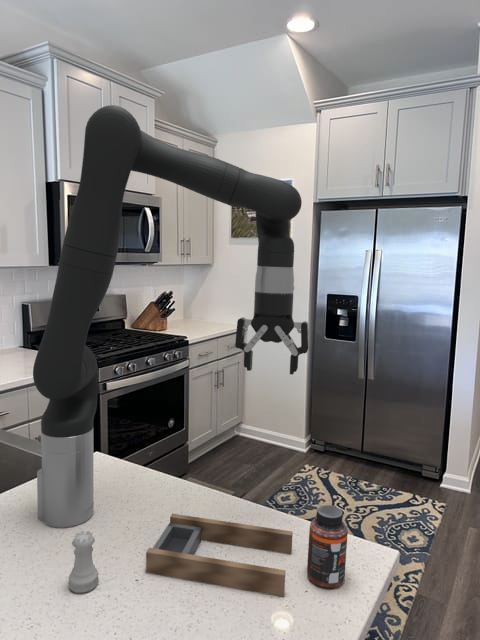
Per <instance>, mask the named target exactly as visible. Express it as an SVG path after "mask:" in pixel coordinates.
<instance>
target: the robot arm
mask: <svg viewBox="0 0 480 640" xmlns="http://www.w3.org/2000/svg"><path fill="white" fill-rule="evenodd" d="M84 131H85V132H84V143H83V145H84V146H83V153H82V154H83V155H82V162H81V163H82V165H81V173H80V179H79V183H78V189H77V193H76V196H75V199H74V203H73V205H72V209H71V212H70V215H69V220H68V223H67V226H66V230H65V234H64V238H63V242H62V243H63V244H62V247H61V251H60V256H59V257H60V258H59V261H58V267H57V273H56V279H55V284H54V287H53V288H54V289H53V293H52V299H51V303H50V310H49V313H48V319H47V322H46V326H45V330H44V332H43V336H42V338H41V342H40V344H39V348H38V350H37V353H36V356H35V360H34V363H33V367H32V378H33V379H32V380H33V383H34V385H35V387H36V389H37V391H38V392H39V394H41V395H42V396H43V397H44V398H46V399H48V401H49V402H48V404H47V407H46V409H45V411H44V412H43V414H42V416H41V421H40V430H41V432H40V433H41V436H40V437H41V468H39V469H38V470H37V472H36V483H37V484H36V489H37V520H41V521H43V523H44V524H45V525H47V526H49V527H52V528H53V527H54V528H70V527H75V526H77V525H81V524H83V523H85V522H87V521H88V520H89V519H91V517H92V516H93V515H94V503H95V502H94V419H95V415H96V412H97V407H98V391H99V389H98V387H99V367H98V366H99V365H98V361H97V358H96V356H95V354H94V352H93V351H92V349H91V348H90V347H88V346H87V344H86V343H87V338H88V333H89V329H90V327H91V324H92V322H93V319H94V317H95V315H96V313H97V312H98V310H99V308H100V306H101V304H102V302H103V301H104V298H105V296H106V294H107V291H108V289H109V287H110V284H111V281H112V278H113V274H114V271H115V266H116V260H117V256H118V252H119V245H120V238H121V228H122V211H123V202H124V197H125V191H126V188H127V185H128V182H129V177H130V175H131V172H136V173H140V174H143V175H145V174H146V175H148V176H152V177H156V178H159V179H162V180H164V181H167V182H169V183H172V184H175V185H178V186H180V187H182V188H185V189H188V190H190V191H193V192H195V193H197V194H199V195H202V196H204V197H206V198H209V199H211V200H214V201H217V202H220V203H222V204H225V205H228V206H229V207H234V208H243V209H244V208H245V209H248V210H250V211H253V212H255V223H256V232H257V233H256V234H257V239H258V246H257V257H256V258H257V259H256V260H257V264H256V266H257V267H256V272H255V281H254V301H253V302H254V307H253V318H251V319H249V318H248V319H247V318H246V317H240V318H238V319H237V321H236V331H235V344H234V345H235V348H236V349H239V350H242V351H243V366H244V368H246V371H247V372H249V371H252V369H253V356H254V355H253V353H254V351H253V350H252V349H253V348H254V347H255V346H256V344H257V343H258V342H259V341H260V340H261V341H263V343H269V342H272V343H277V344H279V343H281V342H283V344H284V345H285V347H286V348H287V349H288V351H289V352H290V354H291V355H290V361H289V375H294V373H295V372H297V370H298V369H299V368H298V367H299V356H300V355H303V354H307V353H308V351H309V322H307V321H306V320H305V321H304V320H303V321H301V322H300V321H298V322H297V321H294V319H293V311H294V308H293V307H294V291H295V274H294V273H295V272H294V261H295V259H294V258H295V243H294V241H293V239H292V237H290V221H291V220H293V218H295V217H297V215H298V214H299V213H300V211H301V209H302V203H303V202H302V197H301V196H302V195H300V194H301V193H300V192H299V191H298V190H297V188H296V187H294V186H293V185H291V184H290V183H288V182H286V181H284V180H281V179H278V178H274V177H271V176H266V175H262V174H259V173H253V172H250V171H248V170H245V169H244V168H242V167H239V166H236V165H235V164H232V163H229V162H226V161H224V160H222V159H219V158H216V157H214V156H210V155H206V154H203V153H199V152H195V151H191V150H187V149H183V148H181V147H180V148H179V147H176V146H173V145H172V144H168V143H166V142H164V141H161V140H159V139H157V138H155V137H153V136H152V135H149V133H146V132H145V131H143V130H141V126H140V125H139V123H138V121H137V119H136V118H135V117H134V116H133V114H132V113H130V112H129V110H127V109H126V108H124V107H122V106H120V105H115V104H114V105H113V104H111V105H105V106H103V107H100V108H99V109H96V111H94V112H93V113H92V114H91V116H90V117H89V118H88V120H87V122H86V126H85V129H84ZM249 326H251V327H252V329H253V331H255V333H254V335H253V336H252V338H250V340H249V341H248V343H246V342H245V331H246V330H247V329H248V328H249ZM294 329H296V331H297V333H298V334H300V343H301V344H300V346H299V347H298V346H297V345H296V343H295V341H294V340H293V338H292V337H291V335H290V333H291V332H292V331H293V330H294Z"/></svg>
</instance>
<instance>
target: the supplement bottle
mask: <svg viewBox="0 0 480 640" xmlns="http://www.w3.org/2000/svg"><path fill="white" fill-rule="evenodd" d="M315 516H316V517H315V518H313V519H312V520H311V522H310V525H309V530H308V531H309V532H308V533H309V534H308V548H307V549H308V550H307V564H306V565H307V566H306V569H307V570H306V571H307V572H306V573H307V577H308V578H309V580H310V581H311V582H312V583H313V584H314V585H317V586H318V587H321V588H327V589H328V588H329V589H334V588H337V587H339V586H341V585H342V584H343V583H344V581H345V576H346V562H347V547H348V536H349V535H348V533H349V531H348V527H347V525H346V524H345V522H343V510H341V509H340V507H337V506H336V505H335V506H334V505H332V504H331V505H330V504H323V505H320V506H318V507H317V509H316V514H315Z"/></svg>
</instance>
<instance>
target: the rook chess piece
mask: <svg viewBox="0 0 480 640" xmlns="http://www.w3.org/2000/svg"><path fill="white" fill-rule="evenodd" d="M95 541H96V540H95V537H94V536H93V532H91V531H90V530H87V531H86V533H85V530H81V531H80V533H79V532H77V533H76V534H75V536H74V538H73V540H72V542H71V544H72V546H73V548H74V550H73V555H74V564H73V567H72V569H71V571H70V573H69V576H68V582H67V584H68V585H67V586H68V588H69V589H70V591H72V592H73V593H75V594H76V593H77V594H85V593H88V592H90V591H92V590H93V589H94V588H96V586H98V583H99V582H100V581H99V580H100V578H99V570H98V569H97V568H96V566H95V564H94V561H93V551H94V547H93V545H94V543H95Z"/></svg>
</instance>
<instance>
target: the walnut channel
mask: <svg viewBox="0 0 480 640" xmlns="http://www.w3.org/2000/svg"><path fill="white" fill-rule="evenodd" d="M169 523H175V524H181V525H188V526H194V527H201V528H202V531H201V541H206V542H210V543H211V542H212V543H217V544H222V545H223V544H224V545H230V546H237V547H243V548H249V549H253V550H261V551H268V552H275V553H280V554H286V555H292V552H293V549H292V548H293V533H294V532H293V531H292V530H285V529H278V528H272V527H265V526H260V525H259V526H258V525H253V524H252V525H251V524H244V523H239V522H231V521H224V520H217V519H211V518H205V517H200V516H199V517H196V516H190V515H186V514H179V513H171V515H170V517H169ZM145 552H146V553H145V573H146V574H153V575H157V576H158V575H159V576H163V577H170V578H175V579H181V580H187V581H192V582H196V583H197V582H198V583H203V584H207V585H208V584H209V585H214V586H220V587H226V588H230V587H231V588H232V589H236V590H242V591H248V592H249V591H250V592H253V593H259V594H266V595H271V596H277V597H282V598H284V597H285V589H286V571H287V570H286V569H281V568H280V569H279V568H273V567H268V566H262V565H256V564H249V563H245V562H238V561H234V560H233V561H231V560H226V559H219V558H215V557H208V556H202V555H197V554H194V555H191V554H185V553H179V552H173V551H166V550H160V549H154V548H153V547H148V548H147V550H146V551H145Z"/></svg>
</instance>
